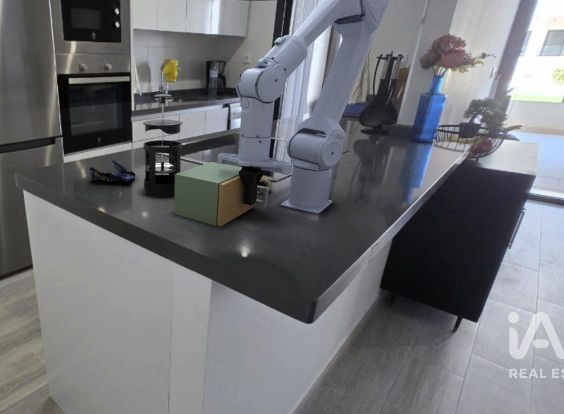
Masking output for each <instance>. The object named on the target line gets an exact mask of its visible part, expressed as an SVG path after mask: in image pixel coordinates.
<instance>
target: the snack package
mask: <svg viewBox="0 0 564 414" xmlns="http://www.w3.org/2000/svg"><path fill="white" fill-rule="evenodd" d="M109 161H111V167H112V168H113V169H114V170H115V172H113V171H111V172H101V171H99V170H97V169H96V168H95V167H92V166H90V167H89V172H88V173H89V174H88V175H89V177H90V179H91V181H93V180H100V181H105V182H120V181H123V182H126V183H130V182H132V181H134V180H135V179H136V176H137V174H136V173H135V172H134V171H132V170H130V171H128V168H127V166H125V165H124V164H122V163H121V162H118V161H117V160H114V159H111V160H109ZM106 169H107V170H108V169H109V167H106ZM126 186H127V187H128V184H127V185H126Z"/></svg>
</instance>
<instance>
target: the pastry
mask: <svg viewBox="0 0 564 414" xmlns="http://www.w3.org/2000/svg"><path fill="white" fill-rule="evenodd" d="M258 186H263V187H268V188H269V192H270V191H271V190H272V188H273V185H272V183H271V181H270V180H269V179H268V178H267V177H266V176H264V175H263V177H262V178H261V180H260V181H259V183H258ZM261 193H262V192H258V191H257V194H261ZM262 194H263V193H262Z"/></svg>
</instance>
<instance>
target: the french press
mask: <svg viewBox="0 0 564 414" xmlns="http://www.w3.org/2000/svg"><path fill="white" fill-rule="evenodd" d="M172 97H173V95H172V94H167V93H159V94H155V95H153V98H160V104H161V119H152V120H146V121H143V122H142V124H143V126H144V131H145V133H147V132H148V131H153V130H155V131H156V130H160V131H161V139H159V140H157V139H156V140H149V141H145V142H143V151H144V161H145V162H144V174H145V177H144V178H143V189H142V194H143V195H144V196H146V197H148V198H154V199H172V198H175V174H177V173H180V172H181V160H182V159H181V158H182V157H181V156H182V150H183V143H182V142H181V141H180V140H174V139H172V140H168V139H164V135H165V134H167V135H175V134H180V133H181V125H183V122H182V121H180V120H174V119H165V118H164V114H165V109H164V108H165V104H166V98H172ZM164 133H165V134H164ZM164 146H165V147H164ZM157 154H161V162H156V160H157V159H156V158H157V156H156V155H157ZM164 154H168V162H164Z"/></svg>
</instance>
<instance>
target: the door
mask: <svg viewBox="0 0 564 414" xmlns="http://www.w3.org/2000/svg"><path fill="white" fill-rule="evenodd" d="M257 191H258V192H262V200H261V199H258V198H256V203H255V204H253V205H248V204H247V205H246V204H244V202H243V198H244V185H243V182H242V180H241V178H240V176H237V177H235V178H233V179H230V180H228V181H226V182H224V183H221V184H220V188H219V204H218V220H217V225H216V227H220V228H221V227H223V226H224V225H226V224H228V223H229V222H231V221H232V220H234V219H237V218H238V217H239V216H242V214H245V213H246V212H248V211H249V210H251V209H253V208H254V206H258V207H262V208H267V207H268V199H269V192H270V191H269V188H268V187H263V186H257Z"/></svg>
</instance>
